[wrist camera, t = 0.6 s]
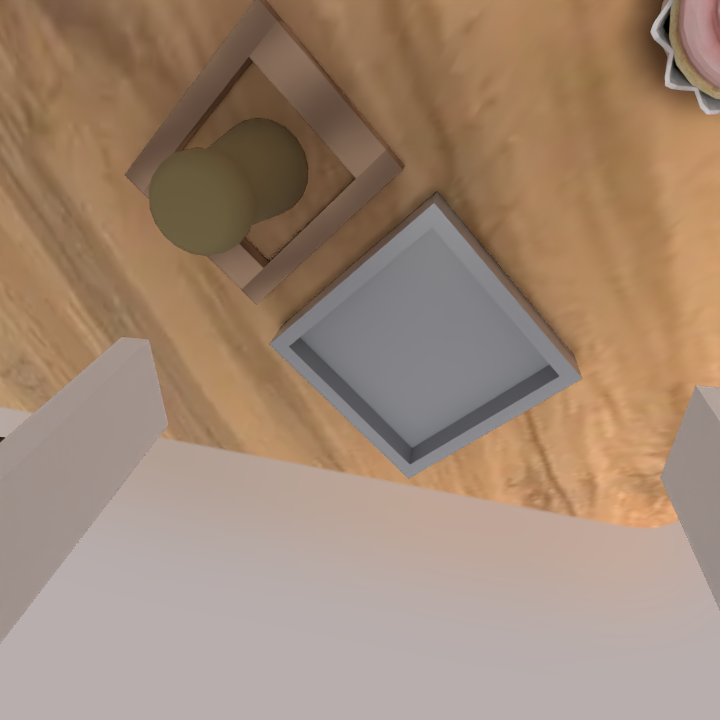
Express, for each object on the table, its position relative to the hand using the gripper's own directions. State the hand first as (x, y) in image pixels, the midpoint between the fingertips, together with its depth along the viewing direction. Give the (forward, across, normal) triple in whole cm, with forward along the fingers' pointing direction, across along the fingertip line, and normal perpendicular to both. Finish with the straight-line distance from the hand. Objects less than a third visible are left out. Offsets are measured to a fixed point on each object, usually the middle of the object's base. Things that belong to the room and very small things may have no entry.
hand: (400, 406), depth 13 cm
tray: (+24, 0, -11) cm, 26 cm away
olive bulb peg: (+24, -11, +1) cm, 27 cm away
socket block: (+24, -11, +1) cm, 26 cm away
